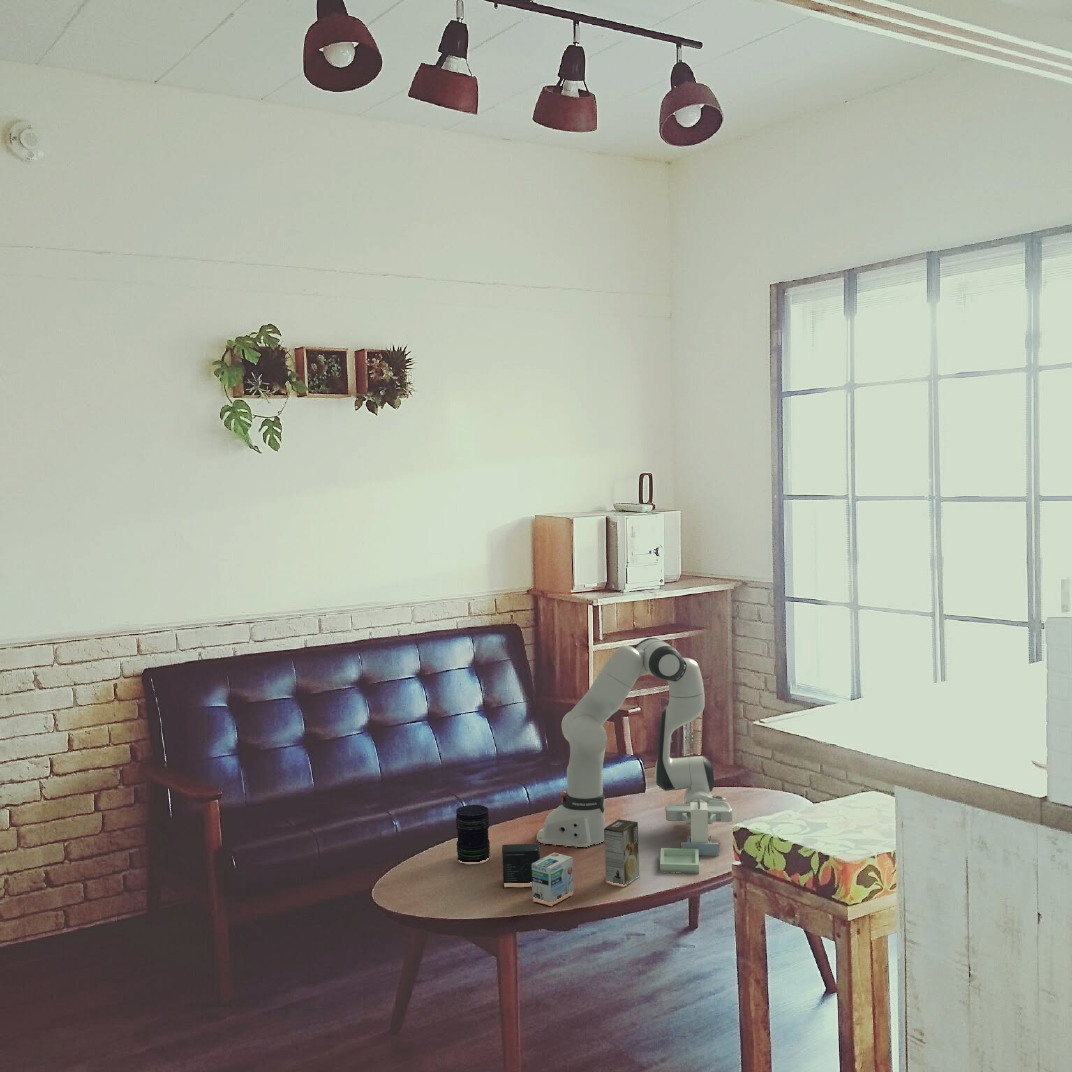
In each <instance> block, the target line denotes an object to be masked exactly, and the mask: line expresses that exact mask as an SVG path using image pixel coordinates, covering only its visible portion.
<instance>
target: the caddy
mask: <svg viewBox="0 0 1072 1072" xmlns="http://www.w3.org/2000/svg"><path fill="white" fill-rule="evenodd" d="M690 809H691V824H690V842H694V843H709V824H708V808H707V803H703V802H700V798H698V802H690Z"/></svg>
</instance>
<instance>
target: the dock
mask: <svg viewBox="0 0 1072 1072" xmlns="http://www.w3.org/2000/svg"><path fill="white" fill-rule="evenodd" d="M719 844H720V843H719V842H712V835H708V843H694V842H691V838H690V835H689V834H688V835H687V841H683V842H680V845H681V846H680V848H683V849H698V853H699V856H715V857H716V856H717V857H719V856H720V854H719V851H720V849H719V847H720V846H719Z"/></svg>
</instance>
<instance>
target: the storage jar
mask: <svg viewBox="0 0 1072 1072" xmlns="http://www.w3.org/2000/svg"><path fill="white" fill-rule="evenodd" d="M455 814H456V815H455V823H456V824H455V827H456V830H457V831H456V832H457V841H456V853H457V861H458V860H460V861H462V862H480V861H482V860H486V859H487V858H489V856H490V854H491V853H490V851H491V841H490V839H489V828H490V815H489V808H488V807H487V806H485V805H481V804H469V805H462V806H459V807H457V808H456V810H455Z"/></svg>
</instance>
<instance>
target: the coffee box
mask: <svg viewBox="0 0 1072 1072" xmlns="http://www.w3.org/2000/svg"><path fill="white" fill-rule="evenodd" d="M603 843H604V871H605V873H604V874H605V877H604V879H605V882H606V881H610V882H613V883H619V884H623V885H625V884H627V883H629V882H630V881H632V880H633V879H634V878H636V877H638V876H639V877H640V860H639V859H640V857H639V854H640V853H639V850H640V849H639V822H638V821H632V820H628V819H627V820H626V819H621V818H619V819H616V820H615V821H613V822H612V823H610V824H609V825H606V828H604V842H603ZM639 877H638V878H639Z"/></svg>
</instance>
